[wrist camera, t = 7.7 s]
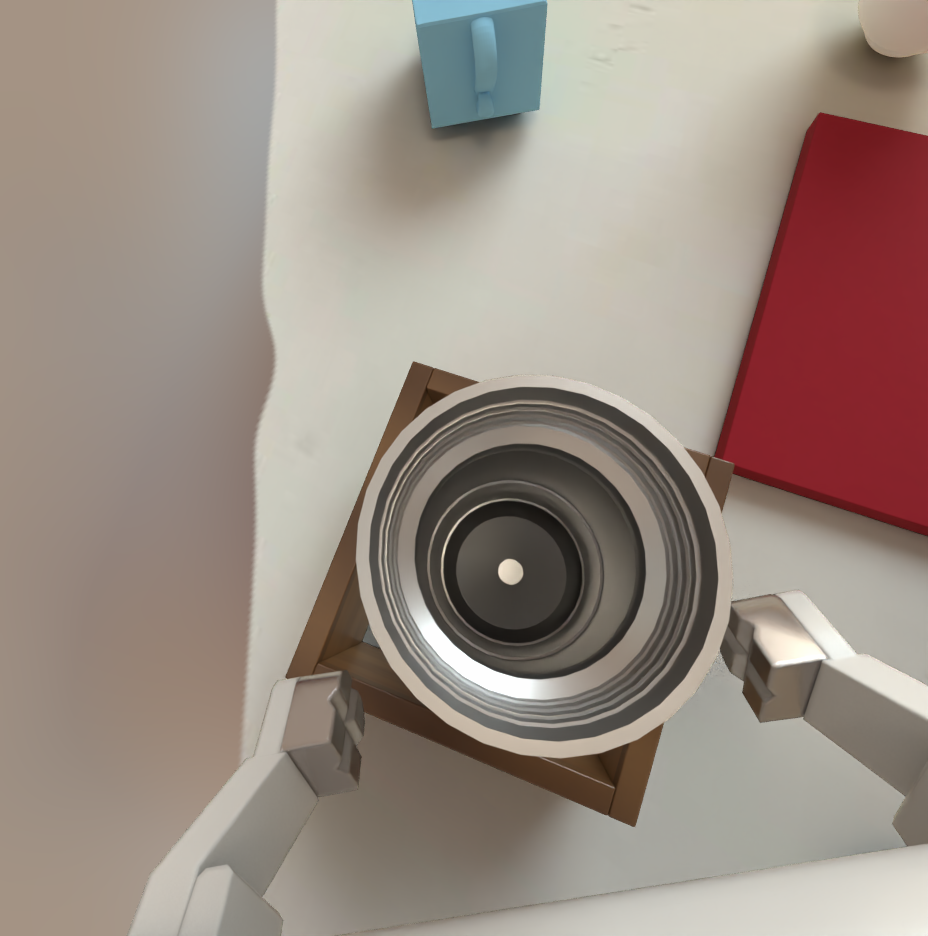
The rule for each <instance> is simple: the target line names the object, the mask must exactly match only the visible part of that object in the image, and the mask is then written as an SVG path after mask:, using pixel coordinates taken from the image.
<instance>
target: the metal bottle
mask: <svg viewBox="0 0 928 936" xmlns="http://www.w3.org/2000/svg"><path fill="white" fill-rule="evenodd" d="M356 565H357V573H358V581H359V588H360V596H361V599H362V603H363V606H364V609H365V612H366V615H367V618H368V621H369V624H370V627H371V630H372V633H373V635H374V637H375V639H376V640H377V642H378V644H379V646H380V648H381V650H382V651H383V653H384V655H385V657H386V659H387V661H388V663H389V664H390V666H391V668H392V669H393V670H394V671H395V673H396V674H397V675H398V676H399V677H400V679H401V680H402V681H403V682H404V684H405V685H406V686H407V687H408V688H409V690H410V691H411V692H412V693H413V695H414V696H415V697H416V698H417V699H418V700H419V701H421V702H422V703H423V704H424V705H425V706H427V707H428V708H429V709H430V710H431V711H433V712H434V713H435V714H436V715H437V716H439V717H440V718H441V719H442V720H443V721H445V722H446V723H447V724H449V725H451V726H452V727H454V728H456V729H458V730H460V731H462V732H463V733H465V734H467V735H469V736H471V737H473V738H474V739H476V740H478V741H480V742H482V743H484V744H488V745H491V746H494V747H497V748H501V749H504V750H507V751H510V752H514V753H517V754H520V755H529V756H541V757H552V758H567V757H575V756H583V755H591V754H598V753H602V752H605V751H608V750H611V749H613V748H616V747H619V746H622V745H624V744H627V743H630V742H632V741H635V740H638V739H639V738H641V737H642V736H644V735H645V734H647V733H648V732H650V731H651V730H653V729H654V728H656V727H658V726H659V725H661V724H662V723H664V722H665V721H667V720H668V719H670V718H671V717H672V716H673V715H674V714H675V713H676V712H677V711H678V710H679V708H680V707H681V706H682V705H683V704H684V703H685V702H686V701H687V700H688V699H689V698H690V697H691V696H692V695H693V694H694V693H695V692H696V691H697V689H698V688H699V686H700V684H701V683H702V681H703V679H704V678H705V676H706V674H707V673H708V671H709V669H710V668H711V666H712V664H713V663H714V661H715V659H716V658H717V655H718V652H719V649H720V646H721V643H722V640H723V637H724V634H725V631H726V628H727V625H728V622H729V617H730V608H731V599H732V590H733V571H732V560H731V548H730V541H729V538H728V534H727V531H726V527H725V524H724V520H723V517H722V514H721V510H720V507H719V504H718V502H717V500H716V498H715V496H714V494H713V492H712V490H711V488H710V486H709V484H708V482H707V480H706V479H705V477H704V475H703V473H702V471H701V470H700V468H699V467H698V466H697V464H696V463H695V462H694V460H693V459H692V458H691V456H690V455H689V454H688V452H687V451H686V450H685V448H684V447H683V446H682V445H681V443H680V442H679V441H678V440H677V439H676V438H675V437H674V436H673V435H672V434H671V433H669V432H668V431H667V430H666V429H665V428H664V427H663V426H662V425H661V424H660V423H659V422H658V421H656V420H655V419H654V418H653V417H652V416H651V415H649V414H648V413H646V412H644V411H643V410H641V409H640V408H638V407H637V406H635V405H633V404H632V403H630V402H629V401H627V400H626V399H624V398H622V397H621V396H618V395H616V394H614V393H611V392H609V391H606V390H604V389H601V388H599V387H596V386H594V385H592V384H589V383H586V382H581V381H576V380H571V379H567V378H562V377H557V376H546V375H515V376H509V377H503V378H497V379H490V380H485V381H482V382H480V383H477V384H474V385H472V386H469V387H466V388H463V389H461V390H458V391H455V392H453V393H452V394H450V395H448V396H447V397H445V398H443V399H442V400H440V401H438V402H437V403H435V404H433V405H432V406H430V407H428V408H427V409H426V410H424V411H423V412H422V413H421V414H420V415H419V416H418V417H417V418H416V419H415V420H413V421H412V422H411V423H410V424H409V425H408V426H407V427H406V428H405V429H404V430H402V431H401V433H400V434H399V435H398V437H397V438H396V439H395V441H394V442H393V444H392V445H391V446H390V448H389V449H388V450H387V452H386V453H385V454H384V456H383V457H382V458H381V460H380V463H379V465H378V467H377V469H376V471H375V473H374V475H373V477H372V479H371V482H370V484H369V486H368V488H367V490H366V494H365V498H364V502H363V506H362V510H361V514H360V518H359V522H358V532H357V548H356Z"/></svg>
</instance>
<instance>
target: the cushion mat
mask: <svg viewBox="0 0 928 936" xmlns="http://www.w3.org/2000/svg"><path fill="white" fill-rule="evenodd" d="M715 457H716V458H719V459H722V460H725V461H728V462H732V463H734V464H735V466H734V470H733V474H736V475H739V476H742V477H745V478H748V479H751V480H755V481H758V482H761V483H764V484H767V485H770V486H773V487H776V488H779V489H783V490H786V491H789V492H792V493H795V494H798V495H801V496H804V497H808V498H811V499H814V500H817V501H820V502H823V503H826V504H829V505H832V506H836V507H839V508H842V509H845V510H848V511H851V512H854V513H857V514H861V515H864V516H867V517H870V518H873V519H876V520H879V521H882V522H885V523H889V524H892V525H895V526H898V527H901V528H904V529H907V530H910V531H913V532H917V533H920V534H923V535H926V536H928V136H926V135H922V134H917V133H912V132H908V131H903V130H899V129H894V128H889V127H885V126H880V125H876V124H871V123H867V122H862V121H857V120H853V119H848V118H844V117H839V116H834V115H830V114H825V113H821V112H820V113H819V114H818V115H817V117H816V118H815V120H814V121H813V123H812V124H811V126H810V127H809V128H808V130H807V132H806V136H805V139H804V143H803V146H802V150H801V153H800V157H799V160H798V164H797V167H796V171H795V174H794V178H793V181H792V185H791V188H790V192H789V196H788V199H787V203H786V206H785V210H784V213H783V217H782V220H781V224H780V227H779V231H778V234H777V238H776V241H775V245H774V248H773V252H772V255H771V259H770V263H769V266H768V270H767V273H766V277H765V280H764V284H763V287H762V291H761V294H760V298H759V301H758V305H757V308H756V312H755V315H754V319H753V323H752V326H751V330H750V333H749V337H748V340H747V344H746V347H745V351H744V354H743V358H742V361H741V365H740V368H739V372H738V375H737V379H736V383H735V386H734V390H733V393H732V397H731V400H730V404H729V407H728V411H727V414H726V418H725V421H724V425H723V428H722V432H721V435H720V439H719V442H718V446H717V450H716V453H715Z"/></svg>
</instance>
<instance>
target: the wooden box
mask: <svg viewBox="0 0 928 936" xmlns="http://www.w3.org/2000/svg"><path fill="white" fill-rule="evenodd" d="M477 383H480V382H477V381H474V380H471V379H468V378H465V377H461V376H458V375H455V374H452V373H449V372H446V371H443V370H439V369H436V368H433V367H430V366H427V365H424V364H420V363H417V362H413V363H412V365H411V368H410V370H409V373H408V375H407V378H406V380H405V382H404V385H403V387H402V390H401V392H400V395H399V397H398V400H397V402H396V405H395V407H394V410H393V412H392V415H391V417H390V420H389V422H388V424H387V427H386V429H385V432H384V434H383V437H382V439H381V442H380V444H379V447H378V449H377V452H376V454H375V457H374V459H373V462H372V464H371V467H370V469H369V471H368V474H367V476H366V479H365V481H364V484H363V486H362V489H361V491H360V494H359V496H358V499H357V501H356V504H355V506H354V509H353V511H352V513H351V516H350V518H349V521H348V523H347V526H346V528H345V531H344V533H343V536H342V538H341V541H340V543H339V546H338V548H337V551H336V553H335V555H334V558H333V560H332V563H331V565H330V568H329V570H328V573H327V575H326V578H325V580H324V583H323V585H322V588H321V590H320V593H319V595H318V597H317V600H316V602H315V605H314V607H313V610H312V612H311V615H310V617H309V620H308V622H307V625H306V627H305V630H304V632H303V635H302V637H301V640H300V642H299V644H298V647H297V649H296V652H295V654H294V657H293V659H292V662H291V664H290V667H289V669H288V672H287V674H286V679H290V678H296V677H303V676H309V675H316V674H323V673H329V672H336V671H343V670H348V672H349V674H350V676H351V678H352V684H351V688H353V689H355V690H357V691H358V692H359V694H360V696H361V699H362V703H363V707H364V712H366V713H368V714H370V715H373V716H375V717H377V718H380V719H382V720H384V721H387V722H389V723H391V724H394V725H396V726H398V727H401V728H403V729H405V730H408V731H410V732H412V733H415V734H417V735H419V736H422V737H424V738H426V739H429V740H431V741H433V742H436V743H438V744H440V745H443V746H445V747H447V748H450V749H452V750H454V751H457V752H459V753H461V754H464V755H466V756H468V757H471V758H473V759H476V760H478V761H480V762H483V763H485V764H487V765H490V766H492V767H494V768H497V769H499V770H501V771H504V772H506V773H508V774H511V775H513V776H515V777H518V778H520V779H522V780H525V781H527V782H529V783H532V784H534V785H536V786H539V787H541V788H543V789H546V790H548V791H550V792H553V793H555V794H557V795H560V796H562V797H564V798H567V799H569V800H571V801H574V802H576V803H578V804H581V805H583V806H585V807H588V808H590V809H592V810H595V811H597V812H599V813H602V814H604V815H608V816H609V817H611V818H614V819H616V820H618V821H621V822H623V823H625V824H628V825H630V826H632V827H635V826H636V822H637V819H638V815H639V811H640V808H641V804H642V801H643V797H644V793H645V790H646V786H647V782H648V779H649V775H650V772H651V768H652V764H653V761H654V757H655V753H656V750H657V746H658V742H659V739H660V735H661V732H662V728H663V724H664V723H662V724H661V725H659V726H658V727H656V728H654V729H653V730H651V731H650V732H648V733H647V734H645V735H644V736H642V737H641V738H639V739H638V740H635V741H632V742H630V743H627V744H624V745H622V746H619V747H616V748H613V749H611V750H608V751H605V752H602V753H598V754H591V755H583V756H575V757H567V758H552V757H541V756H529V755H520V754H517V753H514V752H510V751H507V750H504V749H501V748H497V747H494V746H491V745H488V744H484V743H482V742H480V741H478V740H476V739H474V738H473V737H471V736H469V735H467V734H465V733H463V732H462V731H460V730H458V729H456V728H454V727H452V726H451V725H449V724H447V723H446V722H445V721H443V720H442V719H441V718H440V717H439V716H437V715H436V714H435V713H434V712H433V711H431V710H430V709H429V708H428V707H427V706H425V705H424V704H423V703H422V702H421V701H419V700H418V699H417V698H416V697H415V696H414V695H413V693H412V692H411V691H410V690H409V688H408V687H407V686H406V685H405V684H404V682H403V681H402V680H401V679H400V677H399V676H398V675H397V674H396V673H395V671H394V670H393V669H392V668H391V666H390V664H389V663H388V661H387V659H386V657H385V655H384V653H383V651H382V650H381V649H379V648H377V647H374V646H372V645H369V644H367V643H364V642H362V640H363V637H364V635H365V632H366V630H367V627H368V624H369V621H368V618H367V615H366V612H365V609H364V606H363V603H362V599H361V596H360V588H359V581H358V573H357V565H356V548H357V532H358V522H359V518H360V514H361V510H362V506H363V502H364V498H365V494H366V490H367V488H368V486H369V484H370V482H371V479H372V477H373V475H374V473H375V471H376V469H377V467H378V465H379V463H380V460H381V458H382V457H383V456H384V454H385V453H386V452H387V450H388V449H389V448H390V446H391V445H392V444H393V442H394V441H395V439H396V438H397V437H398V435H399V434H400V433H401V431H402V430H404V429H405V428H406V427H407V426H408V425H409V424H410V423H411V422H412V421H413V420H415V419H416V418H417V417H418V416H419V415H420V414H421V413H422V412H423V411H424V410H426V409H427V408H428V407H430V406H432V405H433V404H435V403H437V402H438V401H440V400H442V399H443V398H445V397H447V396H448V395H450V394H452V393H453V392H455V391H458V390H461V389H463V388H466V387H469V386H472V385H474V384H477ZM684 448H685V447H684ZM685 450H686V451H687V452H688V454H689V455H690V456H691V458H692V459H693V460H694V462H695V463H696V464H697V466H698V467H699V468H700V470H701V471H702V473H703V475H704V477H705V479H706V480H707V482H708V484H709V486H710V488H711V490H712V492H713V494H714V496H715V498H716V500H717V502H718V504H719V507H720V510H721V514H722V510H723V506H724V503H725V499H726V496H727V492H728V488H729V485H730V481H731V477H732V474H733V470H734V466H735V464H734V463H732V462H728V461H725V460H722V459H719V458H716V457H713V456H711V457H710V456H709V455H707V454H704V453H701V452H697V451H694V450H691V449H688V448H685Z"/></svg>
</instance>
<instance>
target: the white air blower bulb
mask: <svg viewBox="0 0 928 936" xmlns="http://www.w3.org/2000/svg"><path fill="white" fill-rule="evenodd" d="M858 17H859V20H860V24H861V26H862V28H863V30H864V35H865V38H866V40H867V42H868V44H869V45H870V47H871V48H872V49H874V50H875V51H876V52H878V53H880V54H882V55H885V56H889V57H909V56H913V55H916V54H920V53H928V0H859V1H858Z"/></svg>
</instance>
